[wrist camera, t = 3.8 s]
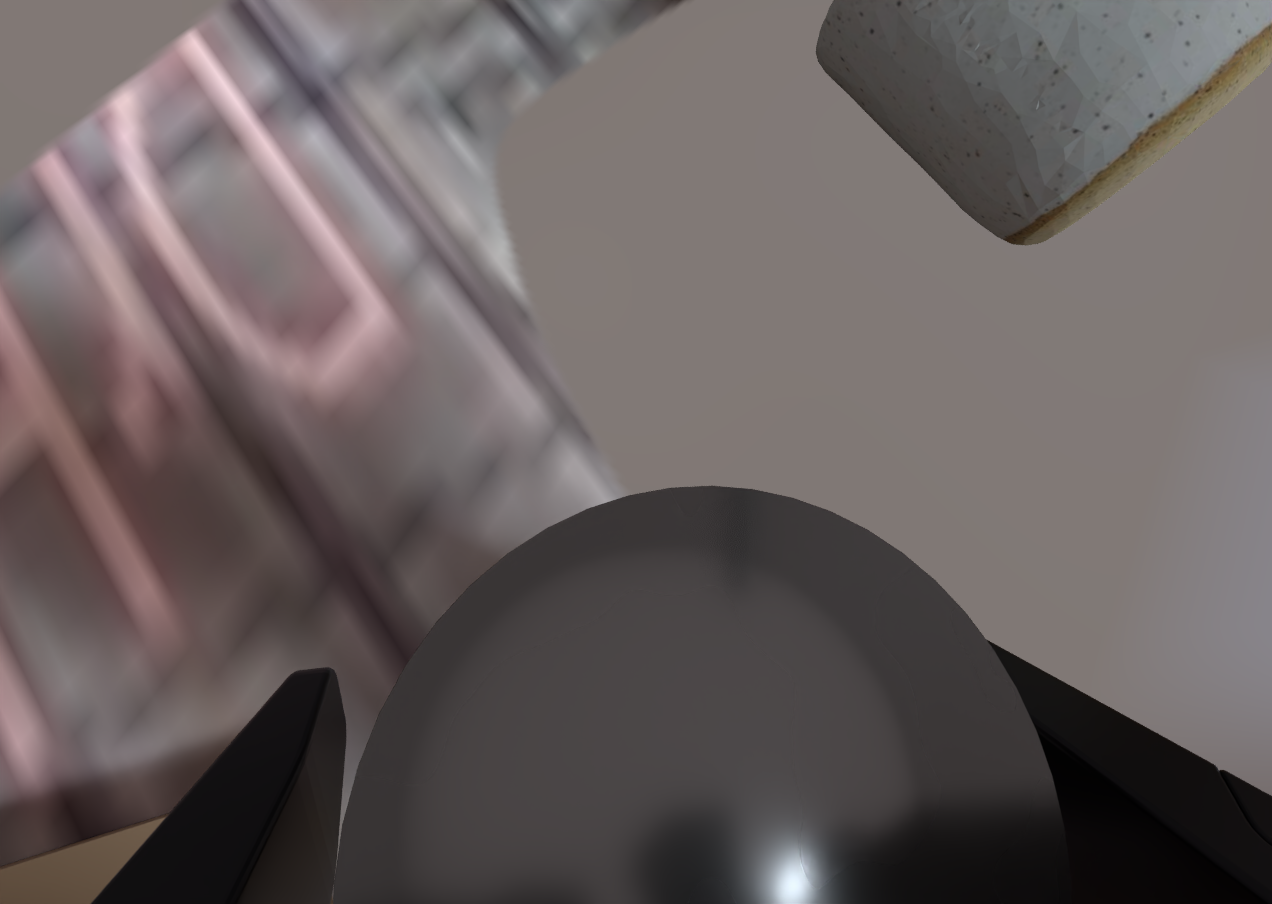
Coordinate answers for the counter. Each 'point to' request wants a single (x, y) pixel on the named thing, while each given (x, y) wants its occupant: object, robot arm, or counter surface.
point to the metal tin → (704, 727)
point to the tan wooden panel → (73, 868)
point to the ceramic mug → (1041, 92)
